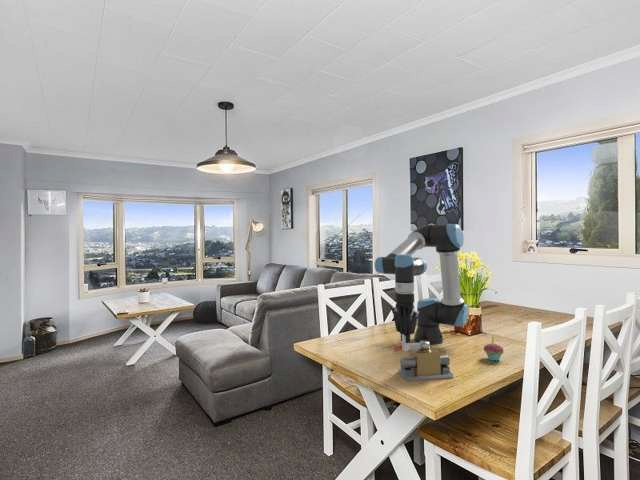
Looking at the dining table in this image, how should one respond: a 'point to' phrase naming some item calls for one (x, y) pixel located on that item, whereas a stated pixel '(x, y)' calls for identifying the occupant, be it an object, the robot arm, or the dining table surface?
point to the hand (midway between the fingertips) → (405, 350)
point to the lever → (413, 346)
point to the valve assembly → (425, 365)
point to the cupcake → (493, 350)
